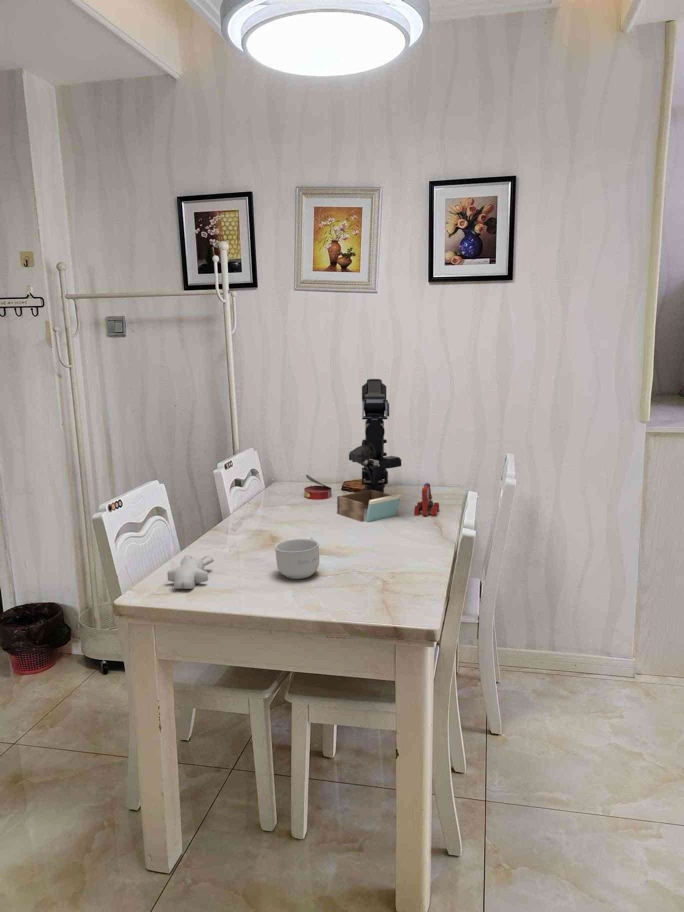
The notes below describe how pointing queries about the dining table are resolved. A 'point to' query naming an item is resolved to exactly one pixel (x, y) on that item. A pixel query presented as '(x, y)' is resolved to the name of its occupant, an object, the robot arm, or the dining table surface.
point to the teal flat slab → (382, 507)
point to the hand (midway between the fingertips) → (374, 485)
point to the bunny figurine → (190, 572)
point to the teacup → (297, 557)
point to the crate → (356, 503)
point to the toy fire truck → (426, 503)
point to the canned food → (317, 491)
